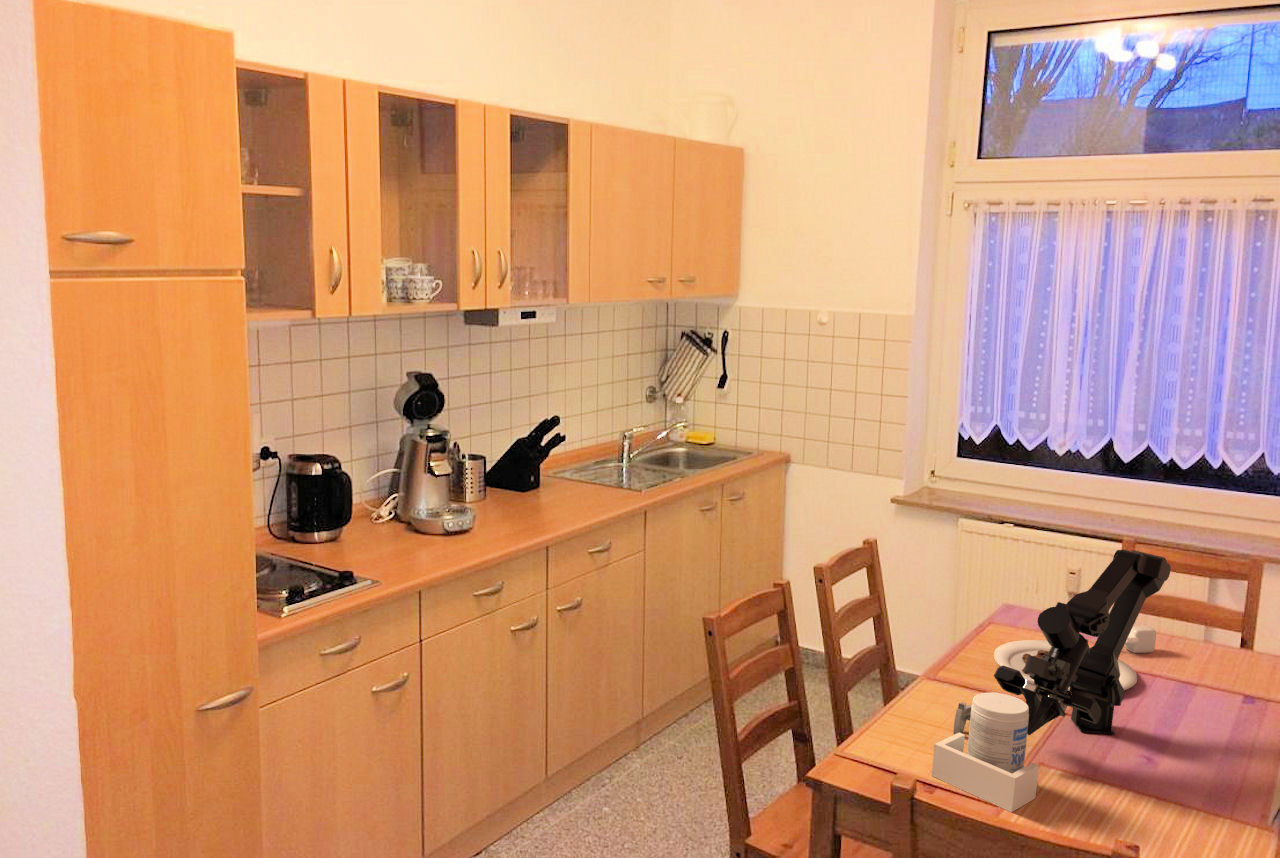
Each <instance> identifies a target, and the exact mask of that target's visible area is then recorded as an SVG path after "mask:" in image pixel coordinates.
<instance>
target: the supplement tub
mask: <svg viewBox="0 0 1280 858" xmlns="http://www.w3.org/2000/svg"><path fill="white" fill-rule="evenodd" d="M971 705H972V708H971V717H970V720H969V728H968V729H969V730H968V740H967V753H966V754H968V755H970V756H972V757H975V758H977V759H979V760H982V761H984V762H986V763H989V764H991V765H993V766H996V767H998V768H1000V769H1003V770H1005V771H1007V772H1010V773H1014V772H1016V771H1018V770H1020V769H1022V768H1023V767H1025V758H1026V750H1027V749H1026V747H1027V739H1028V734H1027V731H1028V721H1029V714H1028V713H1029V707H1028V705H1027V704H1026V701H1024V700H1023V699H1020V698H1018V697H1016V696H1013V695H1009V694H1006V693H1000V692H981V693H978V694H975V695H974V697H973V699H972V704H971Z"/></svg>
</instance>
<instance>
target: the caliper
mask: <svg viewBox="0 0 1280 858" xmlns="http://www.w3.org/2000/svg"><path fill="white" fill-rule="evenodd" d="M971 708H972V704H967V703H966V702H963V701H961V702H958V706H957V708H956V711H955V715H954V716H955V717H954V721H953V733H952V734H953V735H955V734H957V733H959V732H960V733H962V734H964V732H965V731H964V730H965V728H966V727H965V726H966V724H967V721H970V717H971Z"/></svg>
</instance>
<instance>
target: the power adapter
mask: <svg viewBox="0 0 1280 858" xmlns="http://www.w3.org/2000/svg"><path fill="white" fill-rule="evenodd" d="M1156 638H1157V630H1156V629H1154V628H1153V627H1151V626H1148V625H1146V624H1144V625H1143V624H1142V625H1140V624H1139V625H1133V627H1132V629H1131V632H1130V634H1129V636H1128V638H1127V640H1126V642H1125V644H1124V648H1125V649H1126V650H1128V651H1130V652H1132V653H1133V654H1146V653H1147V654H1150V653H1153V652H1154V650H1155V648H1156V647H1155V645H1156V640H1157V639H1156Z"/></svg>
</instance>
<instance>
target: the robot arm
mask: <svg viewBox="0 0 1280 858" xmlns="http://www.w3.org/2000/svg"><path fill="white" fill-rule="evenodd" d="M1171 569H1172V568H1171V564H1170V563H1168V561H1167V559H1166V557H1164V556H1160V555H1155V554H1152V553H1147V552H1144V551H1143V552H1142V551H1139V550H1135V549H1134V550H1128V549H1124V548H1122V549H1117V550H1116V551H1115V553H1114V555H1113V558H1112V561H1110V563H1109V564H1108V565H1107V567H1106V568H1105V569H1104V570H1103V572H1102V573H1101V574H1100V575H1099V577H1097V578H1096V581H1094V582H1093V584H1092V585H1091V586H1090V587H1089V588H1088V590H1086V591H1082V592H1079V593H1076V594H1075V595H1074V596H1073V597H1071V598H1070V599H1069V600H1068V601H1067V602H1066V603H1063V602H1059V601H1058V602H1056V605H1055V606H1050V607H1048V608H1046V609H1043V610H1042V612H1040V613H1039V615H1038V618H1037V627H1038V628H1039V629H1040V631H1041V632H1042V635H1043V636H1044V638H1045V641H1048V643H1049V644H1050V645H1051V646H1052V647H1051V649H1050V651H1049V653H1048V654H1047V655H1046V654H1044V655H1043V656H1042V657H1041V659H1040V658H1037V657H1034V656H1031V655H1028V658H1027V662H1026V665H1025V668H1024V672H1027V673H1030V675H1029V676H1030V677H1031V679H1034V682H1031V681H1028V680H1025V679H1024V677H1023V676H1022V674H1021V673H1020V671H1018V670H1015V669H1012V668H1009V667H1006V666H1004V665H1003V666H999V667H997V669H996V671H995V672H994V674H993V677H994V678H995V681H996V682H997V683H998V685H999V686H1000V687H1001V689H1002V690H1003V691H1005V692H1008V693H1010V694H1012V695H1015V696H1021V695H1022V696H1023V698H1024V699H1025V703H1026V704H1027V705H1028V707H1029V713H1028V714H1029V721H1028V731H1027V736H1031V735H1033V734H1034V733H1035V732H1037V731H1038V730H1039V729H1041V728H1042V727H1044V726H1045V725H1047V724H1048V723H1049V722H1051V721H1053V720H1055V719H1056V718H1059V717H1066V714H1067V713H1066V710H1067V708H1068V707H1069V708H1072V712H1071V716H1070V720H1071V721H1072V723H1073V724H1074V725H1075V726H1076V728H1077V729H1078V730H1079V731H1080V732H1081V733H1088V734H1090V733H1091V734H1102V735H1115V733H1116V732H1115V730H1114V728H1112V727H1113V719H1114V718H1113V717H1114V709H1115V707H1121V705H1122V702H1123V699H1124V697H1125V696H1124V695H1125V690H1124V689H1123V687H1122V685H1121V683H1120V681H1119V677H1120V670H1119V665H1118V659H1119V657H1120V655H1121V653H1122V650H1123V649H1124V648H1125V642H1126V640H1127V638H1128V636H1129V634H1130V632H1131V629H1132V627H1133V626H1135V623H1136V621H1137V619H1138V616H1139V614H1140V612H1141V610H1142V607H1143V605H1144V603H1145V601H1146V599H1148V598H1149V597H1152V596H1153V595H1154V594H1157V593H1158V592H1159V591H1160V590H1161V589H1162V588H1163V585H1164V584H1165V582H1166V581H1168V579H1169V577H1170V575H1171ZM1109 611H1110V612H1109ZM1083 634H1084V635H1087V636H1091V637H1094V638H1097V639H1096V641H1095V642H1094V645H1093V646H1091V647H1090V645H1089V640H1088V639H1087V638H1085V636H1083ZM1069 686H1070V691H1069V693H1070V694H1067V692H1068V691H1067V690H1068V688H1069Z"/></svg>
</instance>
